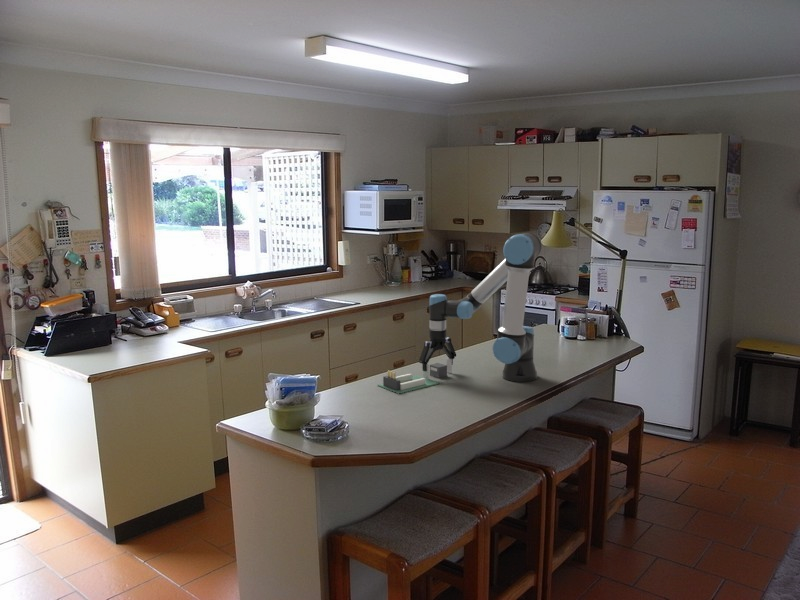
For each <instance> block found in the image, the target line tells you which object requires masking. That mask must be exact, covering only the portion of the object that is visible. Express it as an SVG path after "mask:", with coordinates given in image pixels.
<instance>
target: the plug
mask: <svg viewBox="0 0 800 600" xmlns="http://www.w3.org/2000/svg"><path fill="white" fill-rule="evenodd" d="M429 376H431V377H434V378H437V379H440V378H446V377H448V372H447V364H443V363H440V362H436V363H432V364H429Z"/></svg>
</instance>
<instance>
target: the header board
mask: <svg viewBox="0 0 800 600" xmlns="http://www.w3.org/2000/svg"><path fill="white" fill-rule="evenodd" d="M382 378H383V379H382V383H378V384H377V387H379V386H380V388H382V387H383V388H382V389H384V388H385V390H387V389H388V390H387V391H389V390H390V392H392V391H393V392H392V393H395V392H396V393H395V394H397V393H401V394H404V392H405V393H409V392H412V390H413V391H417V390H420V389H425V388H429V387H433V386H437V385H440V382H439V381H436V380H432V379H430V378H429V379H427V378H424V376H422V375H418V374H417V375H413V374H412V373H406V374H402V375H398V376H396V372H395V371H392V370H390V369H389V370H387V375H385V376H383V377H382ZM408 391H409V392H408Z"/></svg>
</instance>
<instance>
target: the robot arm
mask: <svg viewBox="0 0 800 600" xmlns="http://www.w3.org/2000/svg"><path fill="white" fill-rule="evenodd" d="M542 249H543V244H542V240H541V238H540V237H539V236H538V235H536V234H535V233H533V232H523V233H516V234H514V235H512V236H510V237H509V238H508V239H507V240H506V241H505V243H504V245H503V249H502V250H503V257H504V259H503V260H502V261H501V262H500V263H499V264H498V265H497V266H495V268H494V269H493V270H491V272H490V273H489V274H488V275H487V276H485V278H484V279H483V280H482V281H480V283H478V285H476V286H475V288H473V289H472V290H471V292H469V293H468V294H467V295H466V296H465V297H464V298H460V299H458V300H453V299H452V300H450V299H448V297H447V295H446V294H442V293H435V294H431V295H430V296H429V304H428V306H429V309H428V310H429V330H428V331H429V333H428V334H429V336H428V337H429V341H427V340H425V341H424V342H423V343H424V344H423V348H422V352H421V353H420V357H419V359H418V363H420V364H422V371H423V377H424V378H427V379H430V378H429V377H430V364H429V362H430V360H431V358H432V356H433V355H434V353H435V352H436V351H439V350H440V351H441V350H442V351H443V353H444V354H445V355H446V365H447V374H448V373H449V374H452V373H453V363H454V361H453V360H454V359H455V358H456V357H457V353H456V350H455V348H454V346H453V343H452V338H451V337H448V336H447V318H453V319H460V320H467V319H468V320H469V319H471V318H472V316H473V315H474V313H476V312H477V311H478V310H480V309H481V306H482V305H483V304H484V303H485V302H487V300H488V299H489V298H490V297H492V295H494V294H495V293H496V292H497V291H498V290H499V289H500V288H501V287H502V286H503V285H504V284H505V283H506V289H505V296H504V297H505V298H504V305H503V315H502V323H501V326H500V327H498V329H497V333H496V334H497V336H496V340H495V341H494V342H493V344H492V353H493V356H494V357H495V359H497V360H498V361H499V362H500V363H503V364H504V367H503V369H502V374H501V375H502V376H501V377H502V378H503V379H504V380H506V381H509V380H510V382H515V381H516V382H517V383H519V382H520V383H525V382H533V381H536V380H537V379H538V372H537V370H536V366H535V363H534V346H535V345H534V344H535V343H534V341H535V331H534V328H533V327H530V326H525V325H524V320H525V312H526V302H527V294H528V288H529V286H528V285H529V278H530V272H531V271H532V270H534V268H535V260H536V258H537V257H538V256H540V254H541V252H542ZM535 379H536V380H535Z"/></svg>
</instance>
